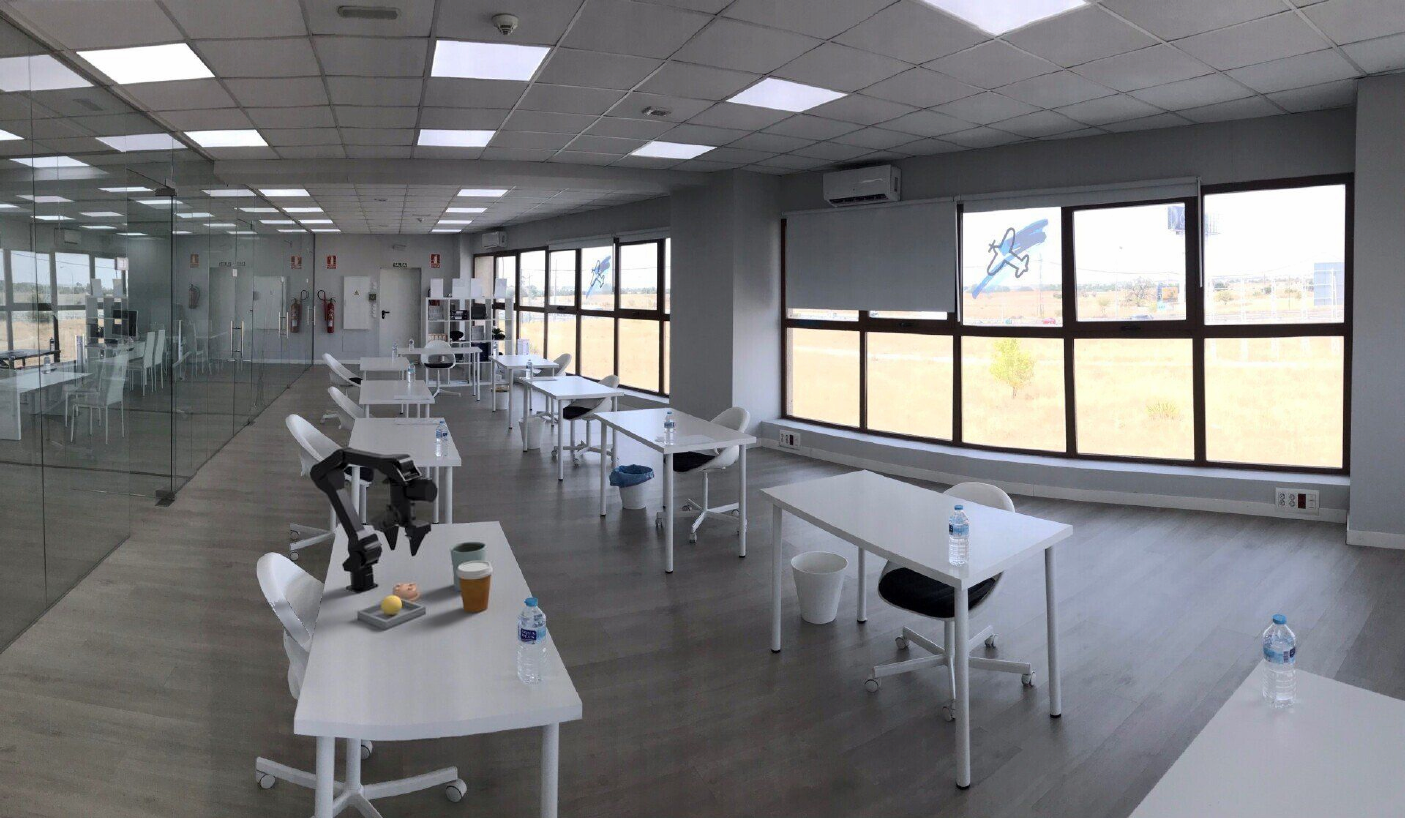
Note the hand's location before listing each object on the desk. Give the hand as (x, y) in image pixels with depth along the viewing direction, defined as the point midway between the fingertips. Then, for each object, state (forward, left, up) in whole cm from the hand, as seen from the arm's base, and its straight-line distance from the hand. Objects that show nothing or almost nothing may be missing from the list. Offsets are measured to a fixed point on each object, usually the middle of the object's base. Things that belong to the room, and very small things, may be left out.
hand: (403, 552), depth 211 cm
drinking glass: (+11, +14, -12) cm, 22 cm away
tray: (+11, -12, -12) cm, 20 cm away
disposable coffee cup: (+25, +4, -12) cm, 28 cm away
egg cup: (+3, -2, -12) cm, 13 cm away
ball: (+11, -12, -11) cm, 20 cm away
